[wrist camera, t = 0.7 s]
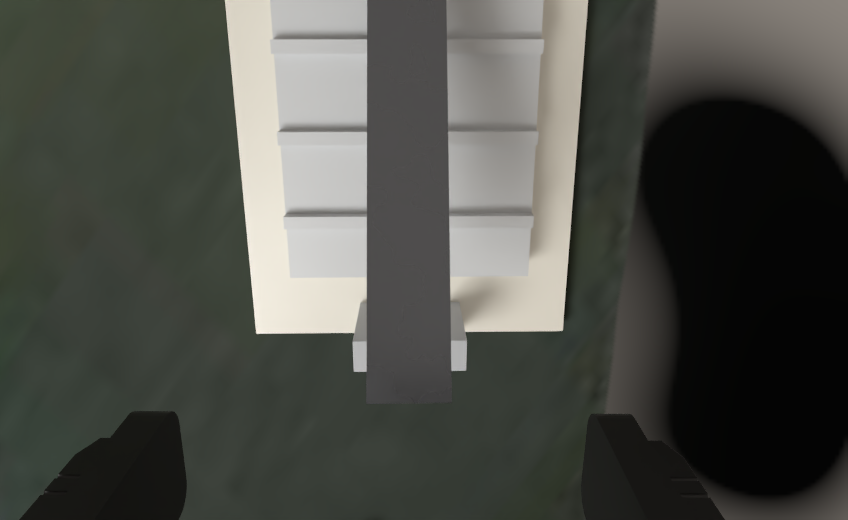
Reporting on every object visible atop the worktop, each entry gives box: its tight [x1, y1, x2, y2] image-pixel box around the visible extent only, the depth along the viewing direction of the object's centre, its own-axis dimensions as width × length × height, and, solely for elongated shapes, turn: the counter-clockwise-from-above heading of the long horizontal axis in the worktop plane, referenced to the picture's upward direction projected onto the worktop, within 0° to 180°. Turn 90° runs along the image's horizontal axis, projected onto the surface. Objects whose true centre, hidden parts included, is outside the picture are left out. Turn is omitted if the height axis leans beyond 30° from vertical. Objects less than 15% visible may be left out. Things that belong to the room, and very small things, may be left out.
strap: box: [367, 0, 452, 404], centre depth 24 cm, size 21×3×1 cm, turn 2°
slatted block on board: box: [225, 0, 588, 372], centre depth 29 cm, size 22×17×6 cm
